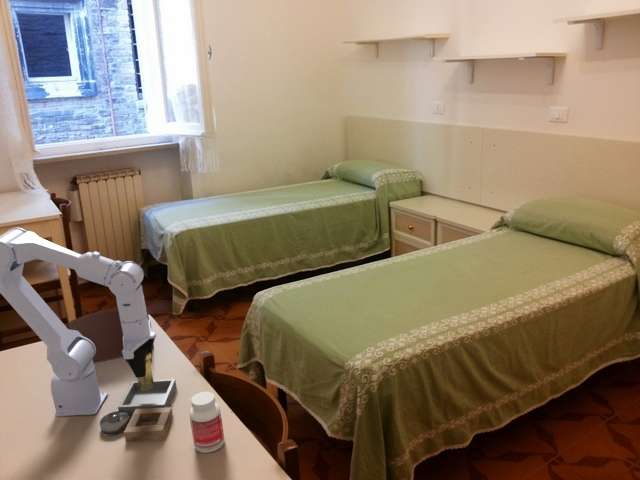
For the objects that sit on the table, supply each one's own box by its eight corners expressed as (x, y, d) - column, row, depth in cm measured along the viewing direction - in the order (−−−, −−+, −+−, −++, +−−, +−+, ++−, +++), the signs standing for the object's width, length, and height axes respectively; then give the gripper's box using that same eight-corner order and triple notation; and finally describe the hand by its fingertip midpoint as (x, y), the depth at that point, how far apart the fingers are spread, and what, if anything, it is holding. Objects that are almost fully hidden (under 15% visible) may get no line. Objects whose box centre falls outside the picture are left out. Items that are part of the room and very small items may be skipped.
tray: (119, 417, 127) (117, 407, 126) (133, 390, 137) (132, 381, 136) (165, 414, 127) (164, 404, 126) (176, 388, 137) (175, 378, 136)
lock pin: (134, 391, 128) (129, 360, 126) (140, 382, 132) (135, 352, 130) (152, 391, 128) (147, 359, 126) (158, 381, 132) (153, 351, 130)
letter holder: (154, 349, 156) (146, 303, 152) (77, 368, 149) (66, 319, 145) (150, 334, 165) (142, 289, 160) (77, 351, 158) (66, 305, 153)
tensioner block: (125, 441, 119) (123, 432, 118) (137, 418, 127) (135, 409, 126) (163, 439, 119) (162, 430, 118) (172, 416, 126) (171, 407, 126)
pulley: (97, 435, 121) (94, 424, 121) (106, 418, 127) (104, 407, 126) (124, 434, 121) (122, 423, 120) (133, 417, 127) (131, 406, 126)
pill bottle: (229, 445, 116) (223, 399, 112) (201, 458, 113) (194, 411, 109) (217, 430, 121) (210, 385, 117) (189, 442, 118) (182, 396, 114)
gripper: (142, 331, 118) (152, 387, 123) (160, 302, 132) (169, 353, 136) (108, 333, 118) (119, 389, 123) (130, 303, 132) (139, 355, 136)
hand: (143, 370), depth 129 cm, fingers closed on lock pin, 4 cm apart
